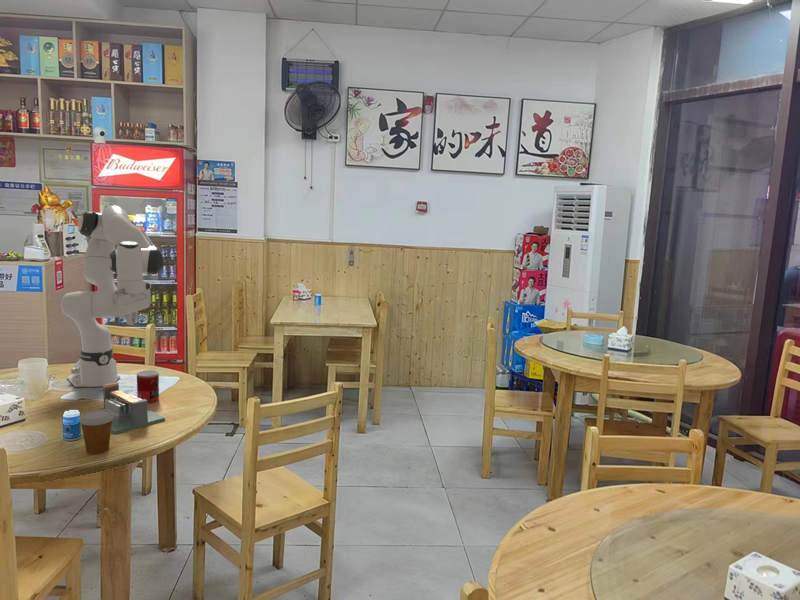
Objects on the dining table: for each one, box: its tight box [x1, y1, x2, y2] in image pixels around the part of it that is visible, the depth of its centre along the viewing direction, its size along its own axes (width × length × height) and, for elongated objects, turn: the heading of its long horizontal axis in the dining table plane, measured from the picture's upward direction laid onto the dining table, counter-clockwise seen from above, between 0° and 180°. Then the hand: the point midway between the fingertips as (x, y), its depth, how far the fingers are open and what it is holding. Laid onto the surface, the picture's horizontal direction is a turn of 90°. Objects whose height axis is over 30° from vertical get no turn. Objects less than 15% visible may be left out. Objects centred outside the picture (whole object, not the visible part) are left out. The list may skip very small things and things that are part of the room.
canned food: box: [136, 370, 160, 404], centre depth 231 cm, size 8×8×11 cm
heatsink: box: [105, 393, 142, 423], centre depth 211 cm, size 10×10×6 cm
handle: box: [109, 389, 139, 404], centre depth 210 cm, size 17×3×2 cm, turn 52°
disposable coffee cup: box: [78, 408, 114, 455], centre depth 184 cm, size 10×10×12 cm
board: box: [101, 381, 166, 435], centre depth 211 cm, size 24×18×11 cm
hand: (131, 324), depth 215 cm, fingers closed
